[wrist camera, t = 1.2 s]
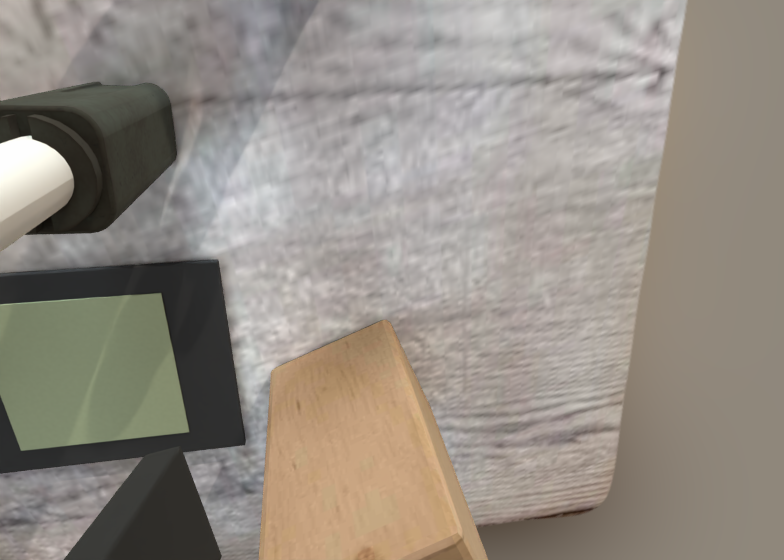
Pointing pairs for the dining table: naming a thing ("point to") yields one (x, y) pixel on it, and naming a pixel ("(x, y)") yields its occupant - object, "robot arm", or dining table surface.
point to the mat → (114, 364)
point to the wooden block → (359, 461)
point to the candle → (80, 156)
